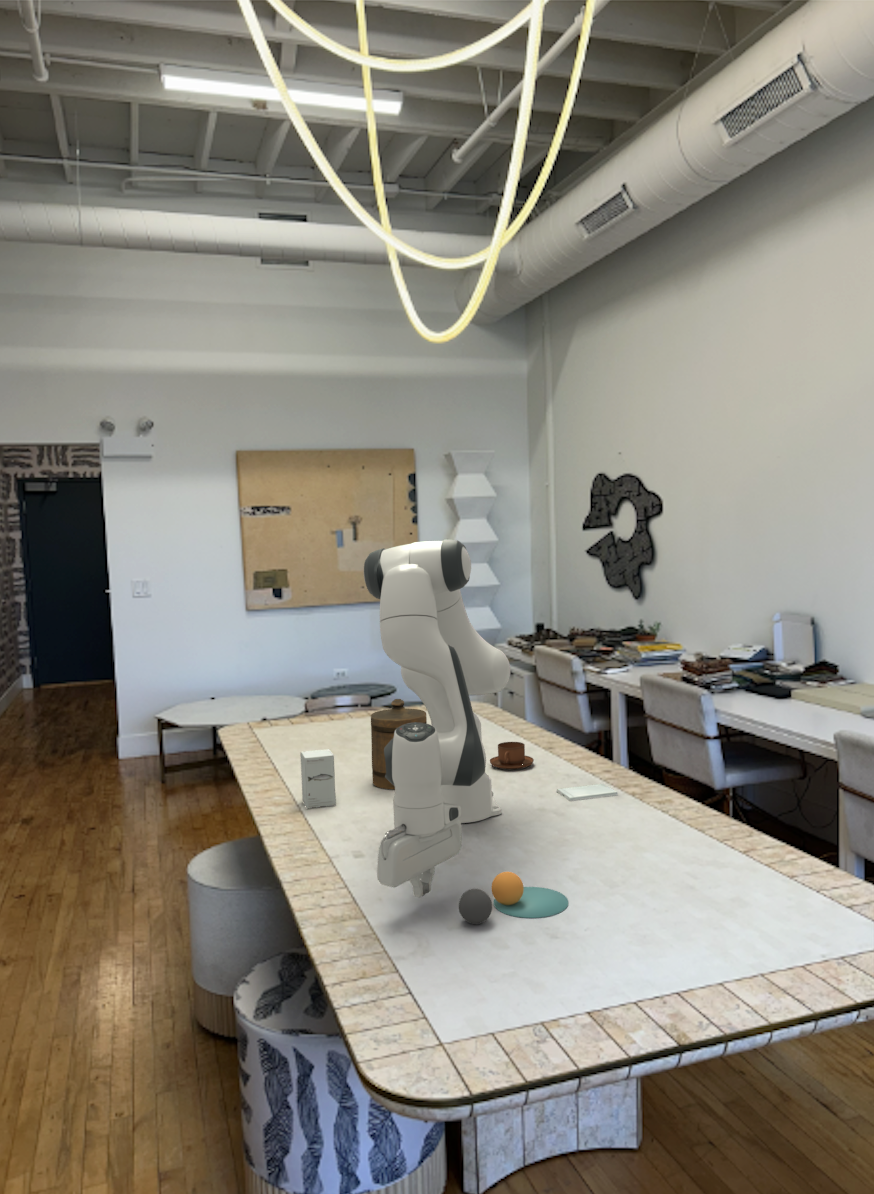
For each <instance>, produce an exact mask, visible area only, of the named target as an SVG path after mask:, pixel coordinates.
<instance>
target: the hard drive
mask: <svg viewBox="0 0 874 1194" xmlns="http://www.w3.org/2000/svg"><path fill="white" fill-rule="evenodd" d="M556 793H557V794H559V795H560V796H561V797H563V798H564V799H566V800H567V801H569V802H574V801H584V800H590V799H591V800H592V799H600V798H607V797H615V796H616V797H617V796H618V791H617V790H615V789H613V787H611V786H609V785H606V784H605V783H599V784H598V783H596V784H589V785H581V786H580V785H579V786H573V787H572V786H571V787H563V788H556Z"/></svg>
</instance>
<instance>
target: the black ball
mask: <svg viewBox="0 0 874 1194" xmlns="http://www.w3.org/2000/svg"><path fill="white" fill-rule="evenodd" d="M492 911H493V902H492V898H491V896H489V894H488V893H487V892H486V891H484V889H480V888H470V889H468V890H466V891H465V892H463V894H462V895H461V897H460V898H459V901H458V912H459V914H460V916H461V918H462V919H463V920H464V921H466V922H467V923H469V924H471V925H472V924H473V925H480V924H483V923H484V922H486V921H487V920H488V919H489V917H490V916H491V914H492Z"/></svg>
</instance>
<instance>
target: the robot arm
mask: <svg viewBox="0 0 874 1194" xmlns="http://www.w3.org/2000/svg"><path fill="white" fill-rule="evenodd" d="M363 565H364V566H363V579H364V583H365V586H366V589H367V591H368V593H369V594H370V595H371V596H373V597H374V598H375V599H377V600H380V601H379V630H380V631H379V633H380V639H381V646H382V649H383V651H384V653H385V655H386V656H387V657H388V658H389V659H390V660H391V661H392V662H394V663H395V664H397V665H399V666H400V674H401V677H402V680H403V682H404V684H405V685H406V687H407V688H408V689H410V690H411V691H412V692H413V693H414V694H416V696H417V697H418V698H419V699H420V700H421V703H422V704H423V705H424V707H425V709H426V710H427V711H426V712H427V713H428V716H429V719H430V722H431V724H429V723H427V724H426V723H419V722H415V723H408V724H404V725H402V726H400V727H398V728H397V729H396V730H395V732H394V738H393V739H392V740H391V741H390V742H389V743H388V744H387V745H386V746H385V748H384V756H385V763H386V775H385V778H386V779H387V780H388V781H389V782H390V783H391V784H393V785H394V786H395V790H394V795H393V799H392V801H393V803H392V805H393V827H394V828H392V829H390V830H387V831H386V832H385V833H384V836H383V838H382V840H380V844H379V847H378V853H377V865H376V866H377V867H376V869H377V870H376V873H377V874H376V875H377V880H378V882H379V883H380V884H381V886H382V885H383V886H386V887H390V888H397V887H399V886H401V885H402V884H404V883H407V882H408V881H409V882H410V884H411V886H412V895H413V896H414V897H417V898H422V897H423V896H425V895H427V894H428V893H431V892H432V881H433V878H434V875H435V867H437V866H438V865H439V864H442V863H445V862H446V861H448V860H449V859H451V858H453V857H455V856H457V855H459V853H460V851H461V849H462V840H463V838H462V835H463V834H462V833H463V832H462V824H465V823H466V824H467V823H474V822H479V821H483V820H486V819H488V818H490V817H494V816H499V815H502V808H501V807H500V805H499V804H498V802H497V800H496V799H495V797H494V792H493V789H492V786H493V785H492V779H491V777H490V776H489V774H487V773H486V767H487V755H486V749H485V746H484V744H483V741H482V739H483V737H482V722H481V720H480V718H479V716H478V715H477V714H476V713H475V712H474V710H473V708H472V707H473V706H472V703H471V697H470V695H471V696H483V695H491V694H495V693H496V694H497V693H500V692H501V691H503V690H504V689H505V687H507V685H508V682H509V680H510V676H511V664H510V661H509V659H508V657H507V655H506V654H505V653H504V652H503V650H501V649H499V648H497V647H495V646H494V645H492V644H490V643H489V642H488V641H487V640H485V639H484V638H483V637H482V636H481V635H480V633H479V632H478V631H477V630H476V629H475V628H474V626H473V624H472V623H471V621H470V619H469V617H468V614H467V610H466V608H465V604H464V601H463V597H462V596H463V595H462V592H461V589H462V588H463V589H464V588H465V586H466V585H467V584H468V583H469V581H470V576H471V571H472V560H471V557H470V554H469V551H467V547H466V546H465V545H464V543H462V542H461V541H459V540H457V539H449V538H447V539H445V538H444V539H443V540H431V541H430V540H427V541H414V542H412V543H406V544H401V545H397V546H393V547H390V548H379V549H377V550H374V551H372V552H370V553H369V554H368V555H367V557H366V559H365V560H364V564H363Z"/></svg>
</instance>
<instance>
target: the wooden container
mask: <svg viewBox="0 0 874 1194" xmlns="http://www.w3.org/2000/svg"><path fill="white" fill-rule="evenodd" d="M390 703H391V706H392V708H391V709H390V708H389V709H381V710H379V711H378V710H377V711H375V712H372V713H371V715H370V728H371V729H370V732H371V733H370V735H371V737H370V738H371V770H372V773H371V774H372V784H373V786H374V787H377V788H380V789H383V790H384V789H385V790H389V791H390V790H394V791H395V786H394V785H393V784H391V783H390V782H389V781H388V780H387V779H386V778H385V775H386V763H385V756H384V748H385V746H386V745H387V744H388V743H389V742H390V741H391V740H392V739H393V738H394V732H395V730H396V729H397V728H398V727H400V726H402V725H404V724H408V723H415V722H419V723H426V724H428V721H427V720H428V719H427V711H425V710H422V709H418V708H406V707H405V700H404V699H401V698H394V700H392V701H391V702H390Z"/></svg>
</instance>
